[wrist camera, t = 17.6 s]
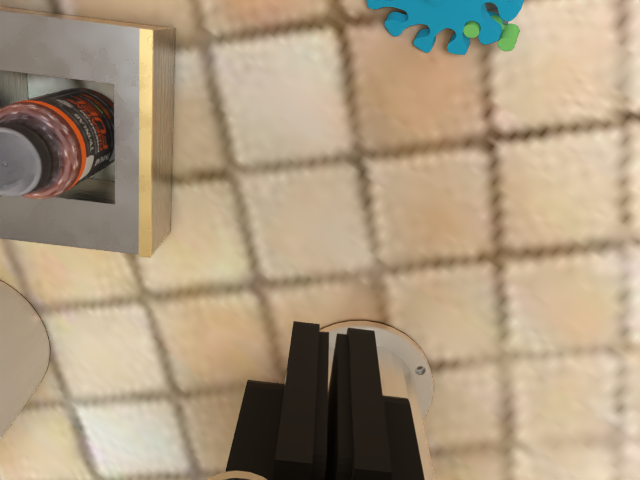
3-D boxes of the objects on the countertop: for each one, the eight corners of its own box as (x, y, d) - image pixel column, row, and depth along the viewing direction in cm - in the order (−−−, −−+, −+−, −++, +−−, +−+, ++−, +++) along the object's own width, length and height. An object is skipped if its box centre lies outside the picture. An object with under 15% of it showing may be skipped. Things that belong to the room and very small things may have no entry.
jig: (170, 231, 45) (150, 257, 40) (3, 211, 45) (-38, 235, 40) (175, 28, 40) (152, 30, 35) (-15, 4, 40) (-65, 2, 35)
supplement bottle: (145, 134, 43) (82, 173, 32) (90, 183, 44) (12, 236, 33) (85, 68, 41) (-2, 86, 30) (30, 121, 42) (-71, 156, 32)
